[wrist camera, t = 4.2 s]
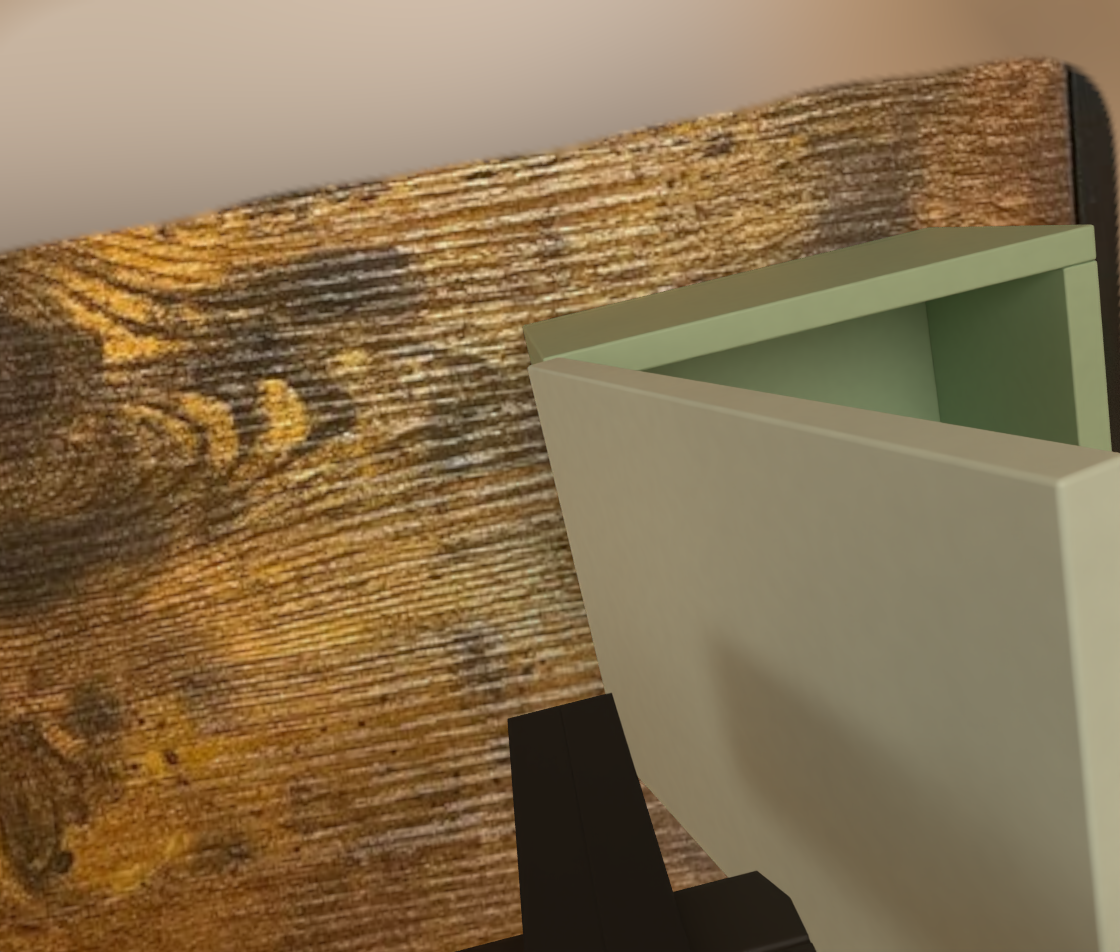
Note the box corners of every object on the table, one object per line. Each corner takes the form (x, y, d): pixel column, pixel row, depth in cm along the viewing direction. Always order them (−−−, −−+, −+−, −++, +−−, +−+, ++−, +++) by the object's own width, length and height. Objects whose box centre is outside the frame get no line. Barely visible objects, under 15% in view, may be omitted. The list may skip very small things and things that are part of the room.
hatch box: (929, 227, 28) (1094, 224, 21) (965, 523, 31) (1125, 615, 23) (521, 325, 28) (541, 358, 21) (591, 617, 31) (632, 742, 23)
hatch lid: (1136, 451, 8) (1061, 481, 7) (1195, 1299, 10) (1139, 1341, 10) (560, 355, 20) (525, 365, 20) (649, 745, 23) (619, 758, 22)
